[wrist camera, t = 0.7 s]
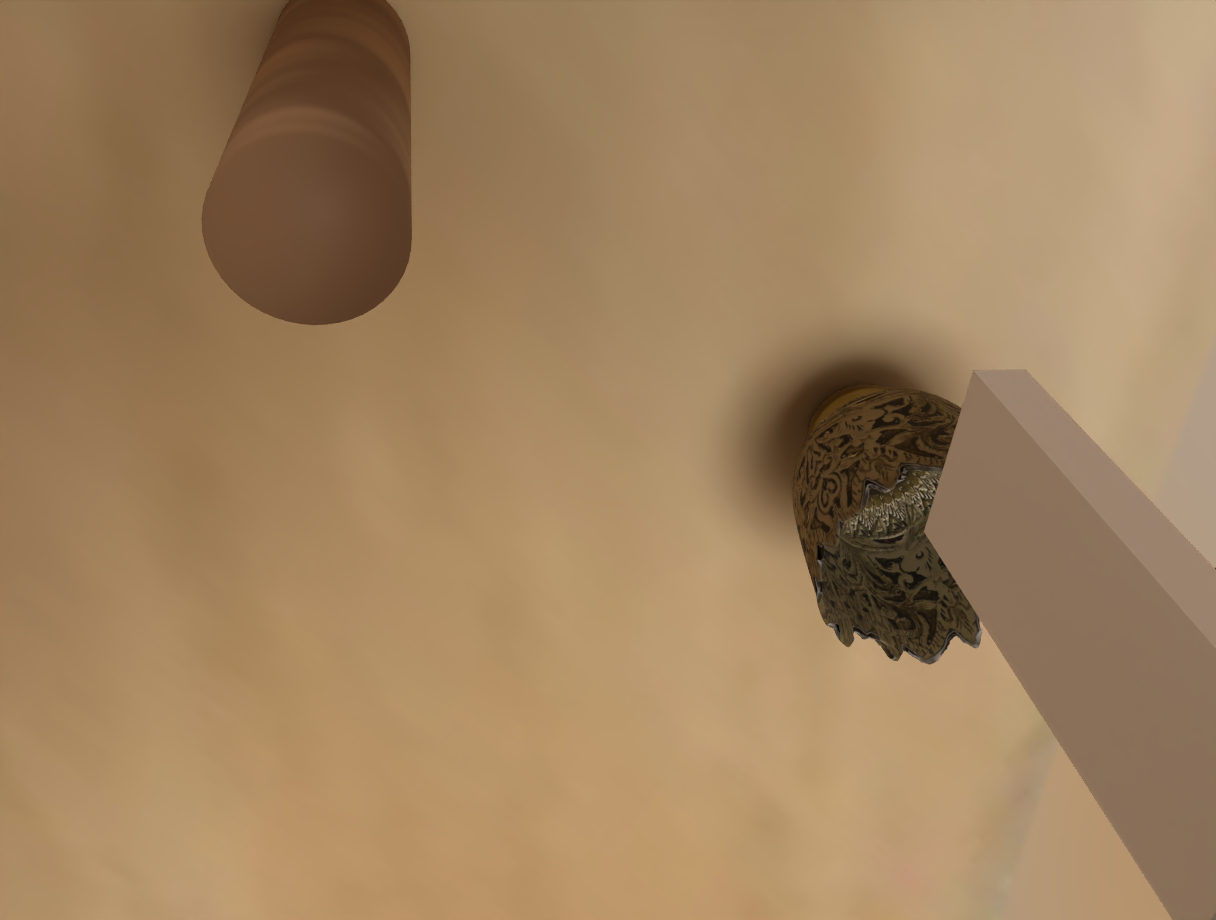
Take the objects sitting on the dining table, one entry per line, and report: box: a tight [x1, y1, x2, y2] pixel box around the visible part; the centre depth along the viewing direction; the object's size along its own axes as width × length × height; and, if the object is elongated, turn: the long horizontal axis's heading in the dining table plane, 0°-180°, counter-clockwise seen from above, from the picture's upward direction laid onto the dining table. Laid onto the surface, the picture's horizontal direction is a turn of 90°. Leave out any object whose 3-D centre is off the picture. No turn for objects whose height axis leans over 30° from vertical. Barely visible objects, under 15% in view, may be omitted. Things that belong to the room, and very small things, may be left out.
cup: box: [792, 384, 982, 664], centre depth 34 cm, size 8×7×8 cm
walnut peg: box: [202, 0, 412, 325], centre depth 23 cm, size 3×3×12 cm
